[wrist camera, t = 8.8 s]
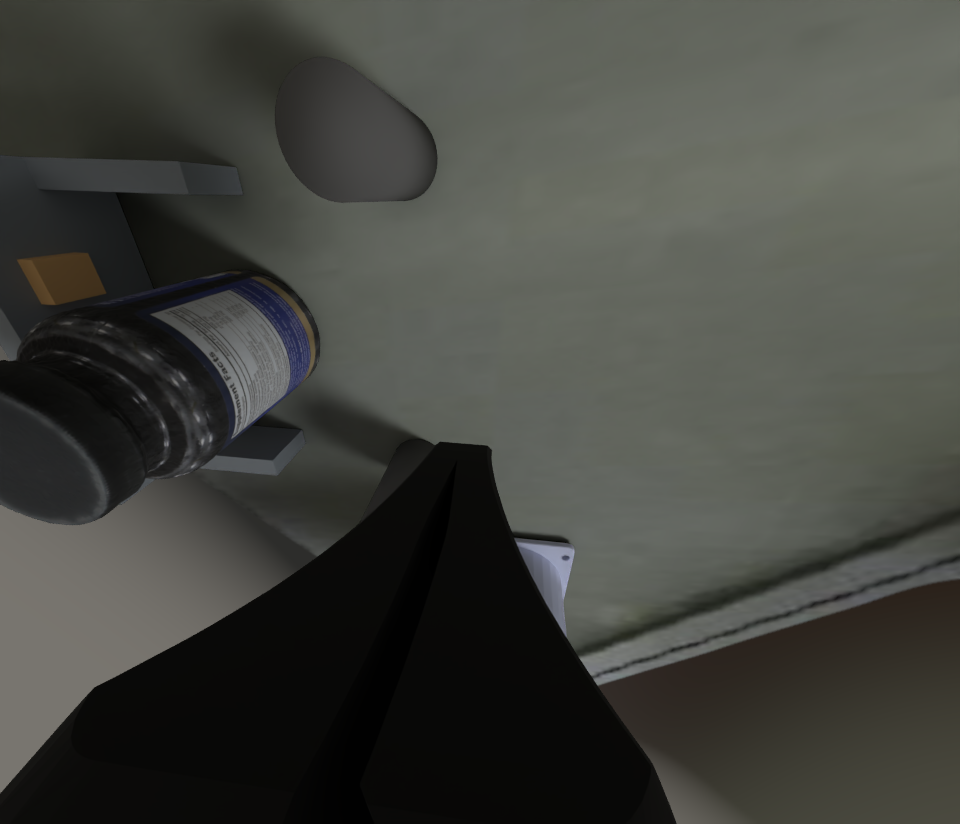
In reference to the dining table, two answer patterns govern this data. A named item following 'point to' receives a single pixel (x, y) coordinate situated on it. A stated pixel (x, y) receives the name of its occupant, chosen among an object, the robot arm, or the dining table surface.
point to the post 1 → (351, 136)
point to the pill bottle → (144, 389)
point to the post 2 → (399, 470)
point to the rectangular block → (100, 258)
